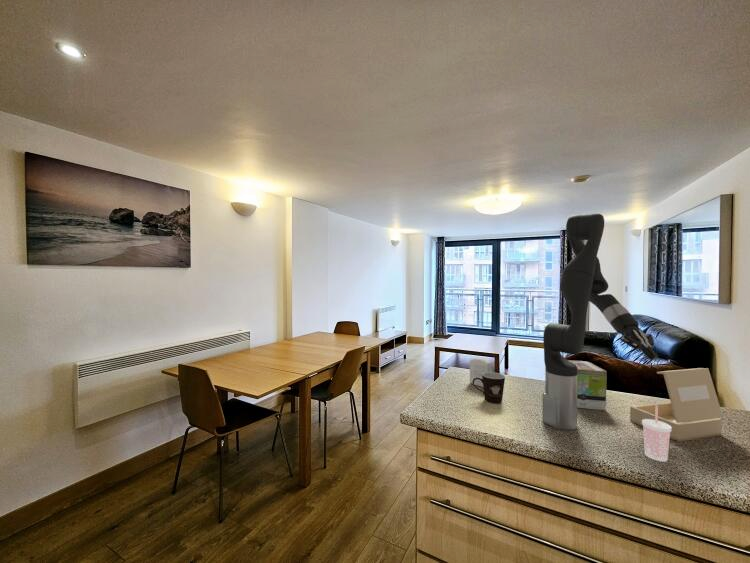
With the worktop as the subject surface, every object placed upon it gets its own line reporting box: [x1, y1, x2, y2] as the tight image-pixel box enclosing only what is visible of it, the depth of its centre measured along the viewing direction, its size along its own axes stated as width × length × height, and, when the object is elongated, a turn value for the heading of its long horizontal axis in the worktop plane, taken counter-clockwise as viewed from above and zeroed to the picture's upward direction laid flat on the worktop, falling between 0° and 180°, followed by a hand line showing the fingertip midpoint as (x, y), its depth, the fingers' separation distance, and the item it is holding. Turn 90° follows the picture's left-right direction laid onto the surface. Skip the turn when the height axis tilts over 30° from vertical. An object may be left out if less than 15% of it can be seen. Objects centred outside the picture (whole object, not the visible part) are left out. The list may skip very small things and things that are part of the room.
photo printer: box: [469, 357, 493, 388], centre depth 143 cm, size 10×4×12 cm, turn 36°
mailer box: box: [629, 401, 723, 443], centre depth 103 cm, size 18×14×5 cm
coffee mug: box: [471, 371, 506, 405], centre depth 126 cm, size 12×9×10 cm
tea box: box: [567, 359, 608, 411], centre depth 124 cm, size 15×10×15 cm, turn 168°
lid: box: [656, 367, 724, 423], centre depth 99 cm, size 18×15×2 cm
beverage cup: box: [642, 405, 672, 462], centre depth 86 cm, size 6×6×14 cm
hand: (654, 358), depth 108 cm, fingers closed
